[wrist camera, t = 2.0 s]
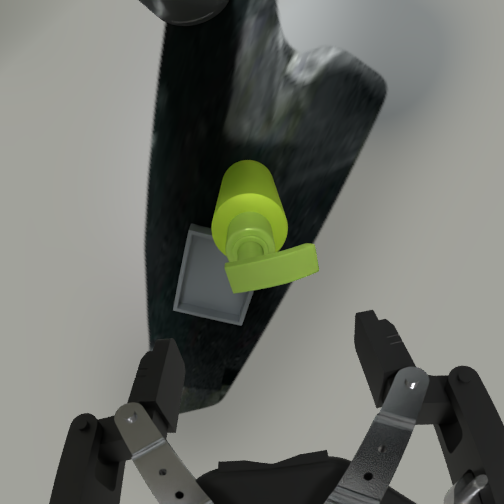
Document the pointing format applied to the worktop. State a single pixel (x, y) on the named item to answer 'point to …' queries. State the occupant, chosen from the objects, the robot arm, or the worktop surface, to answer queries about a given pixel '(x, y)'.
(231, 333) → the worktop surface
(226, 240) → the soap dispenser
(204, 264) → the tray
